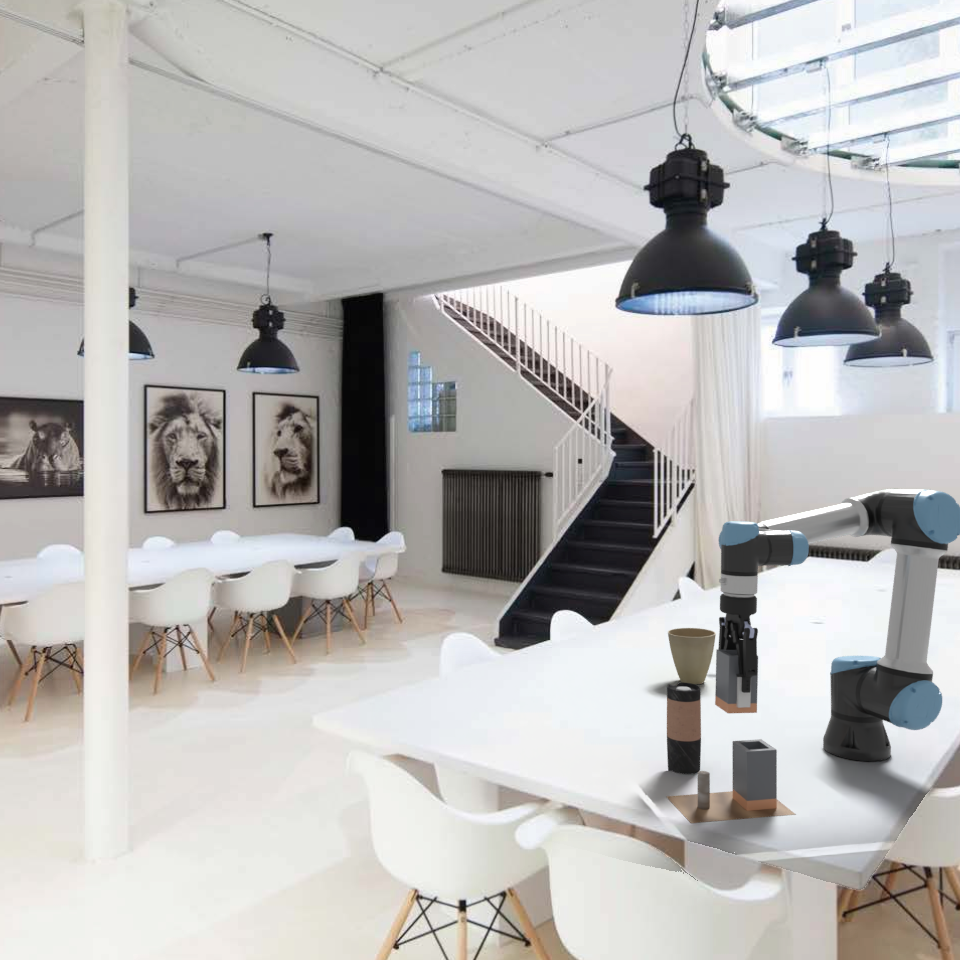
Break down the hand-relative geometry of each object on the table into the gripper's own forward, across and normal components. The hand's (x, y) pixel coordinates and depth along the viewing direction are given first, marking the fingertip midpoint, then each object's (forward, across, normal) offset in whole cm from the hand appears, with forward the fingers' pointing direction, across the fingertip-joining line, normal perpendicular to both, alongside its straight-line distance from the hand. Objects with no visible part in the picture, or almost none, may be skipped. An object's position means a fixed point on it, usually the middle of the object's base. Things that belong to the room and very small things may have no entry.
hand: (735, 701), depth 180 cm
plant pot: (+19, -88, +26) cm, 93 cm away
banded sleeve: (+1, 0, 0) cm, 1 cm away
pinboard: (+20, +7, -4) cm, 22 cm away
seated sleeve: (+19, +7, +1) cm, 20 cm away
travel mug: (+21, -14, -6) cm, 25 cm away
